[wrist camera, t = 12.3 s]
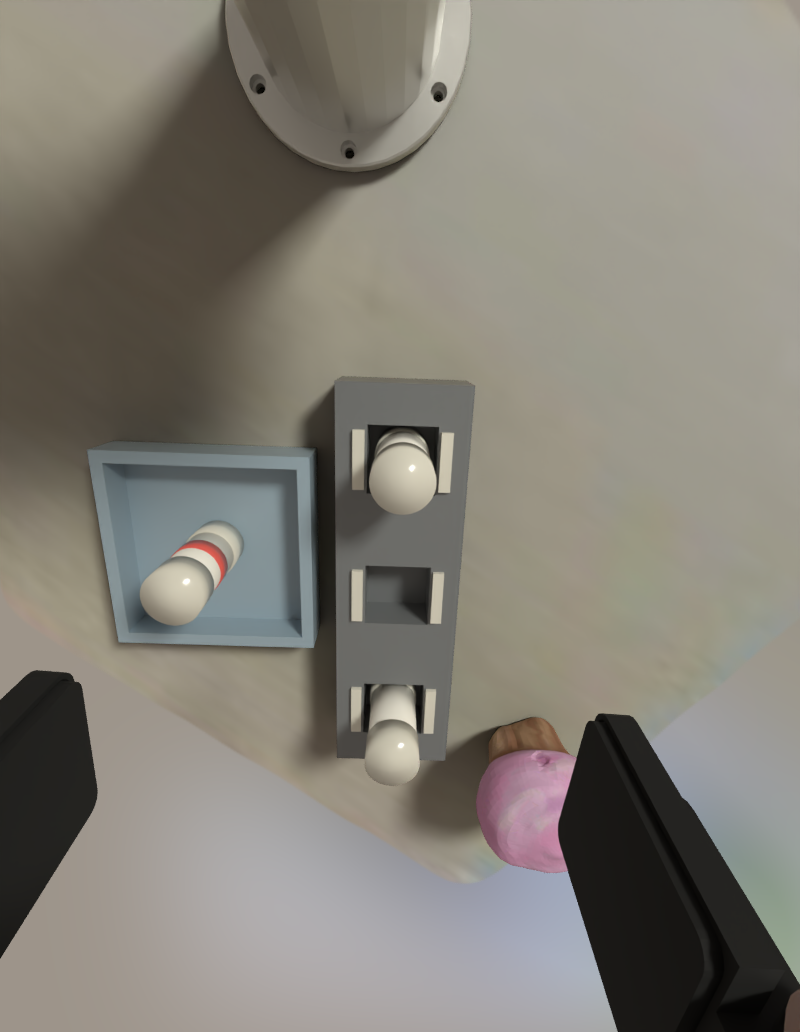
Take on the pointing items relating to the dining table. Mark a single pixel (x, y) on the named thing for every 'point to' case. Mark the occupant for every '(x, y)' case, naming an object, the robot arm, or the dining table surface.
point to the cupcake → (525, 795)
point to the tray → (195, 501)
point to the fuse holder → (398, 556)
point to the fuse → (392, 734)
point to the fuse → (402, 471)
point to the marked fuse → (192, 574)
